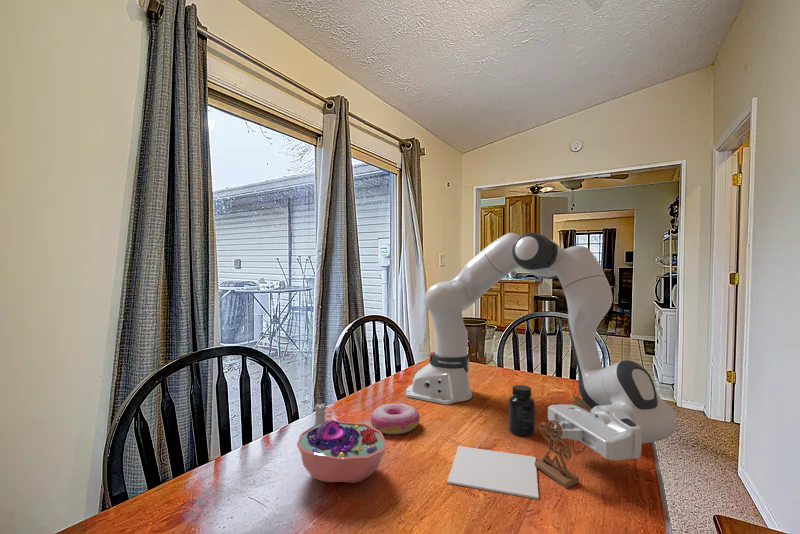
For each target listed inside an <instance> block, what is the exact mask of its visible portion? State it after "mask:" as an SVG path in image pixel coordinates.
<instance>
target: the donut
mask: <svg viewBox="0 0 800 534" xmlns="http://www.w3.org/2000/svg"><path fill="white" fill-rule="evenodd" d="M420 416H421V415H420V414H419V412H418V410H417V409H416V408H415V407H413V406H411V405H409V404H405V403H398V402H397V403H385V404H382V405H380V406H378V407H376V409H374V410H373V412H372V414H371V415H370V424H371V426H372V427H374V428H375V429H377V430H379V431H380V432H381V433H382V434H383V435H402V434H403V435H404V434H407V433H409V432H412V431H413V430H414V429H415V428H416V427H417V426H418V425H419V422H420Z"/></svg>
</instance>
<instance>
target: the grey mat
mask: <svg viewBox="0 0 800 534" xmlns="http://www.w3.org/2000/svg"><path fill="white" fill-rule="evenodd" d="M535 461H537V459H536V457H535V456H530V455H523V454H517V453H510V452H503V451H496V450H489V449H483V448H474V447H469V446H461V445H458V446H457V450H456V453H455V456H454V458H453V462H452V464H451V468H450V471H449V473H448V477H447V480H446V484H450V485H453V486H454V485H455V486H459V487H460V486H461V487H462V486H463V487H466V488H472V489H479V490H483V491H489V492H495V493H502V494H507V495H512V496H518V497H524V498H529V499H535V500H536V499H537V500H539V497H540V496H539V485H538V472H537V471H538V470H537V467H536V466H535Z"/></svg>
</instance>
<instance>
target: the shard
mask: <svg viewBox="0 0 800 534" xmlns="http://www.w3.org/2000/svg"><path fill="white" fill-rule="evenodd" d="M572 400H573V405H576V406H578V407H580V408H582V409H584V410H586V411H588V412H589V413H590V412H591V410H592V408H591V407H589V406H588V405H587V404H586V402H585V401H584V400H583V398H582V397H581V398H580V397H578V396H575V395H572Z"/></svg>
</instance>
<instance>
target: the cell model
mask: <svg viewBox="0 0 800 534" xmlns="http://www.w3.org/2000/svg"><path fill="white" fill-rule="evenodd" d="M325 421H326V420H325ZM314 425H315V424H314ZM314 425H313V426H311V427H309V428H308V429H306V430H305V431H303V432H302V433H301V434H300V435H299V437H298V440H297V443H296V446H297V448H298V450H299V453H300V455H301V461H302V464H303V466H304V468H305V469H306V471H307V472H308V474H309V475H310V476H311V477H312V478H313V479H315V480H318V481H321V482H324V483H349V484H357V483H360V482H362V481H364V480H366V479H367V478H369V477H370V476H371V475H373V474H374V473H375V471H376V470H377V469H378V467H379V466H380V464H381V462H382V460H383V457H384V454H385V451H386V449H387V442H386V439H385V437H384V433H381V432H380V431H379V430H377V429H375V428H374V427H373V426H372V425H370V424H367V423H360V422H357V423H356V422H346V421H336V420H334V419H333V420H331V419H330V420H327V421H326V422H324V423H322V424H318V425H315V426H314Z"/></svg>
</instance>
